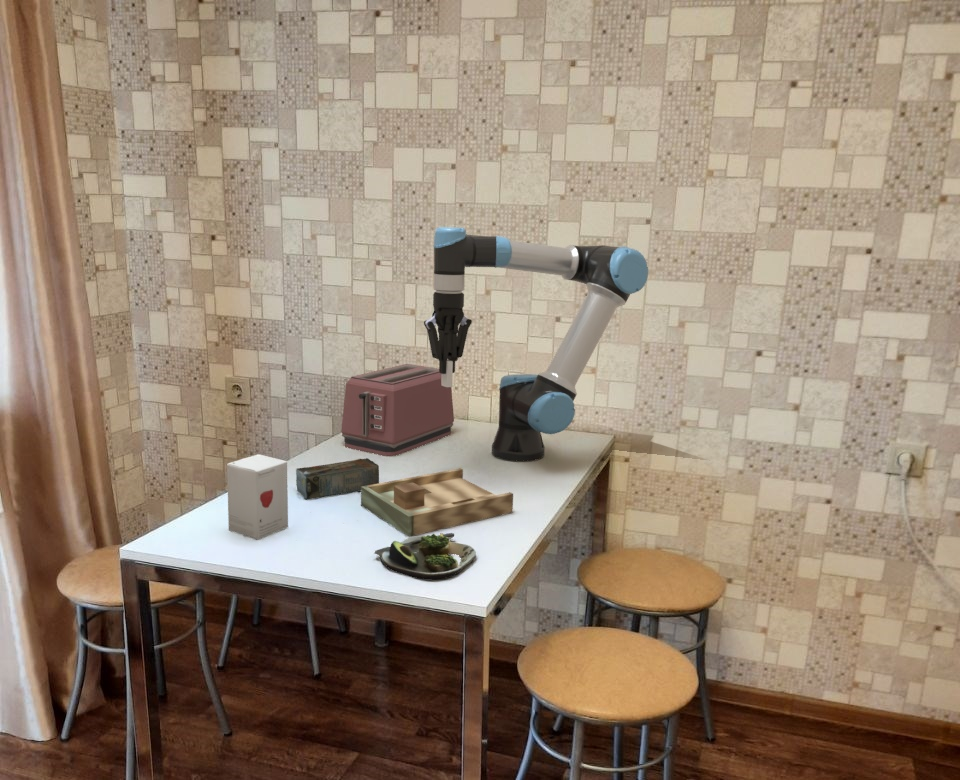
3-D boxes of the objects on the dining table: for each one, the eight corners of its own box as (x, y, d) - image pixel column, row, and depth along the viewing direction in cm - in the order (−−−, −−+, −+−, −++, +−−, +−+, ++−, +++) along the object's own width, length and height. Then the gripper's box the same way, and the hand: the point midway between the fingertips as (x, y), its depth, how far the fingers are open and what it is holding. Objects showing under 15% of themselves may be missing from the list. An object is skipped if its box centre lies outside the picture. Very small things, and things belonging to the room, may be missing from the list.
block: (412, 499, 185) (413, 482, 184) (424, 505, 181) (424, 488, 180) (393, 502, 182) (393, 486, 182) (404, 509, 178) (405, 492, 178)
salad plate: (420, 533, 173) (420, 512, 172) (493, 551, 165) (494, 530, 164) (364, 565, 157) (364, 543, 156) (442, 588, 148) (443, 564, 147)
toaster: (334, 448, 232) (334, 378, 228) (405, 424, 260) (406, 361, 256) (387, 460, 222) (387, 387, 218) (455, 433, 251) (456, 369, 246)
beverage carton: (295, 491, 196) (294, 465, 195) (368, 480, 206) (368, 455, 204) (305, 501, 190) (305, 474, 188) (381, 489, 199) (381, 464, 198)
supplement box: (257, 541, 166) (255, 471, 162) (227, 531, 170) (224, 463, 167) (289, 527, 173) (288, 460, 170) (260, 518, 178) (258, 452, 175)
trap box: (459, 485, 203) (460, 468, 202) (512, 512, 186) (513, 493, 185) (360, 505, 187) (360, 486, 186) (408, 536, 170) (408, 516, 169)
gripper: (462, 289, 204) (460, 380, 209) (417, 291, 197) (416, 385, 202) (479, 292, 198) (476, 386, 203) (434, 294, 191) (432, 391, 196)
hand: (446, 386), depth 202 cm, fingers closed
